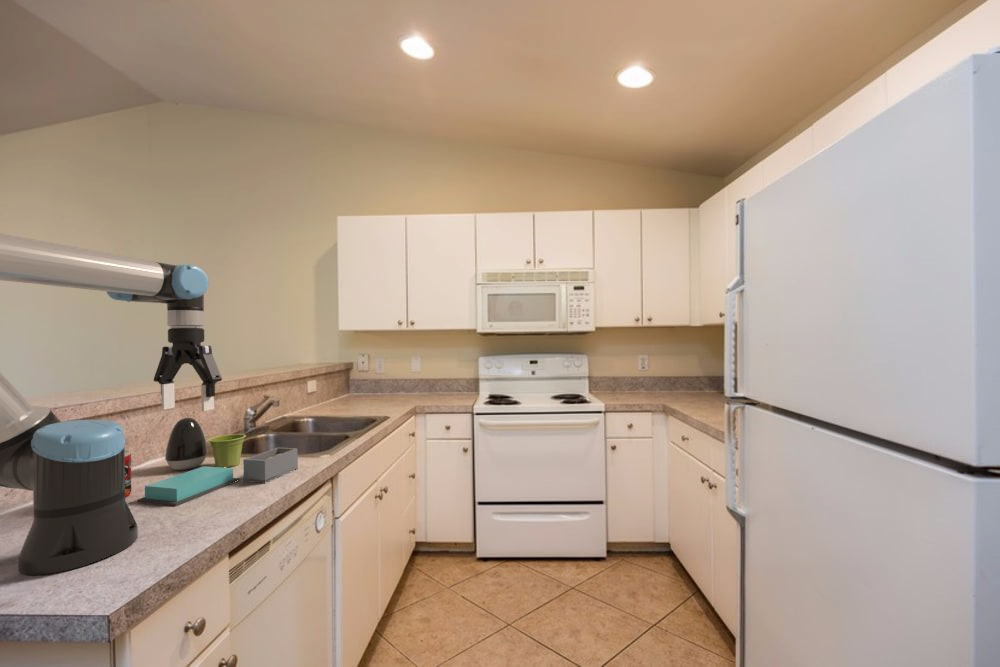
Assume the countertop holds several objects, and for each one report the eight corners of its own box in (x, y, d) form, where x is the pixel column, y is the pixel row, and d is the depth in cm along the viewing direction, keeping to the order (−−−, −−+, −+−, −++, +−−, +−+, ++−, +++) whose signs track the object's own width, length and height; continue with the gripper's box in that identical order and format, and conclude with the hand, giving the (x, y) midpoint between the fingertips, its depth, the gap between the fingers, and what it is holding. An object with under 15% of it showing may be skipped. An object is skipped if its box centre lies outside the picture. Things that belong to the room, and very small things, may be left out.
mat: (176, 506, 94) (176, 503, 94) (137, 502, 97) (137, 499, 97) (239, 480, 110) (239, 478, 110) (204, 477, 113) (204, 475, 113)
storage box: (297, 468, 119) (297, 448, 119) (265, 483, 108) (264, 460, 108) (278, 467, 121) (277, 447, 121) (243, 481, 109) (243, 459, 109)
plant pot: (220, 461, 128) (219, 434, 128) (251, 460, 129) (251, 433, 129) (202, 471, 119) (201, 442, 119) (236, 469, 120) (235, 440, 120)
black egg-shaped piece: (206, 460, 130) (205, 413, 130) (209, 467, 122) (208, 417, 122) (165, 467, 124) (164, 417, 124) (165, 475, 116) (164, 422, 116)
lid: (233, 479, 110) (233, 468, 110) (177, 501, 95) (176, 488, 95) (204, 477, 112) (203, 466, 112) (144, 498, 97) (144, 485, 97)
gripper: (237, 326, 105) (238, 407, 105) (166, 329, 112) (167, 405, 112) (209, 325, 98) (211, 413, 98) (135, 328, 104) (136, 410, 104)
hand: (187, 409), depth 105 cm, fingers open, 13 cm apart
